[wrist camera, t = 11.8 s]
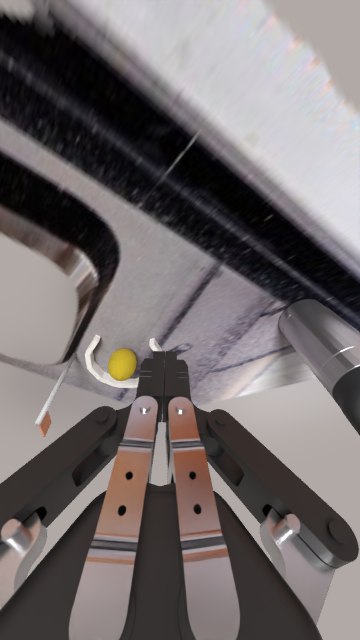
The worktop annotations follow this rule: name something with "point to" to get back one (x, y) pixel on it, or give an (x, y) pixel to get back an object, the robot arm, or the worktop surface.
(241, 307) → the worktop surface
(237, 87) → the worktop surface
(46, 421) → the white arc
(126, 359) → the lemon
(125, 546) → the robot arm
